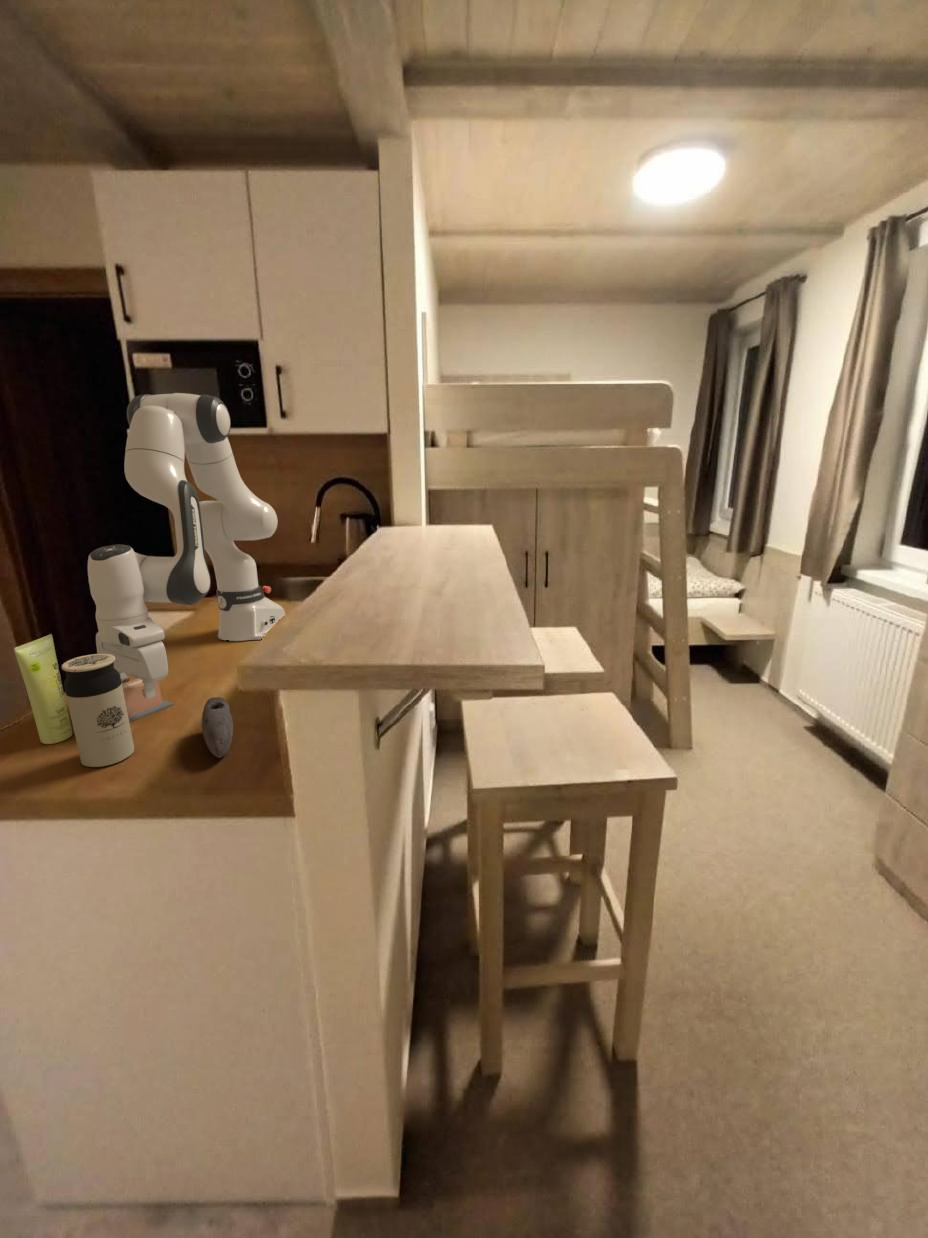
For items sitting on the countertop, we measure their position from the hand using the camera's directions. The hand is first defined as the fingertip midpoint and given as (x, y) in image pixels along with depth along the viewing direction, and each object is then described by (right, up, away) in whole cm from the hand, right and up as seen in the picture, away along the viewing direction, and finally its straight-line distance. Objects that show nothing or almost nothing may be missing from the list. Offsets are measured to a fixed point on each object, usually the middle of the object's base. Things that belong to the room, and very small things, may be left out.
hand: (136, 691), depth 112 cm
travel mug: (+5, -9, -16) cm, 20 cm away
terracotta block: (0, -4, +1) cm, 4 cm away
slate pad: (0, -4, +1) cm, 4 cm away
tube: (-9, -8, -10) cm, 16 cm away
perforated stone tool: (+23, -8, -13) cm, 27 cm away
